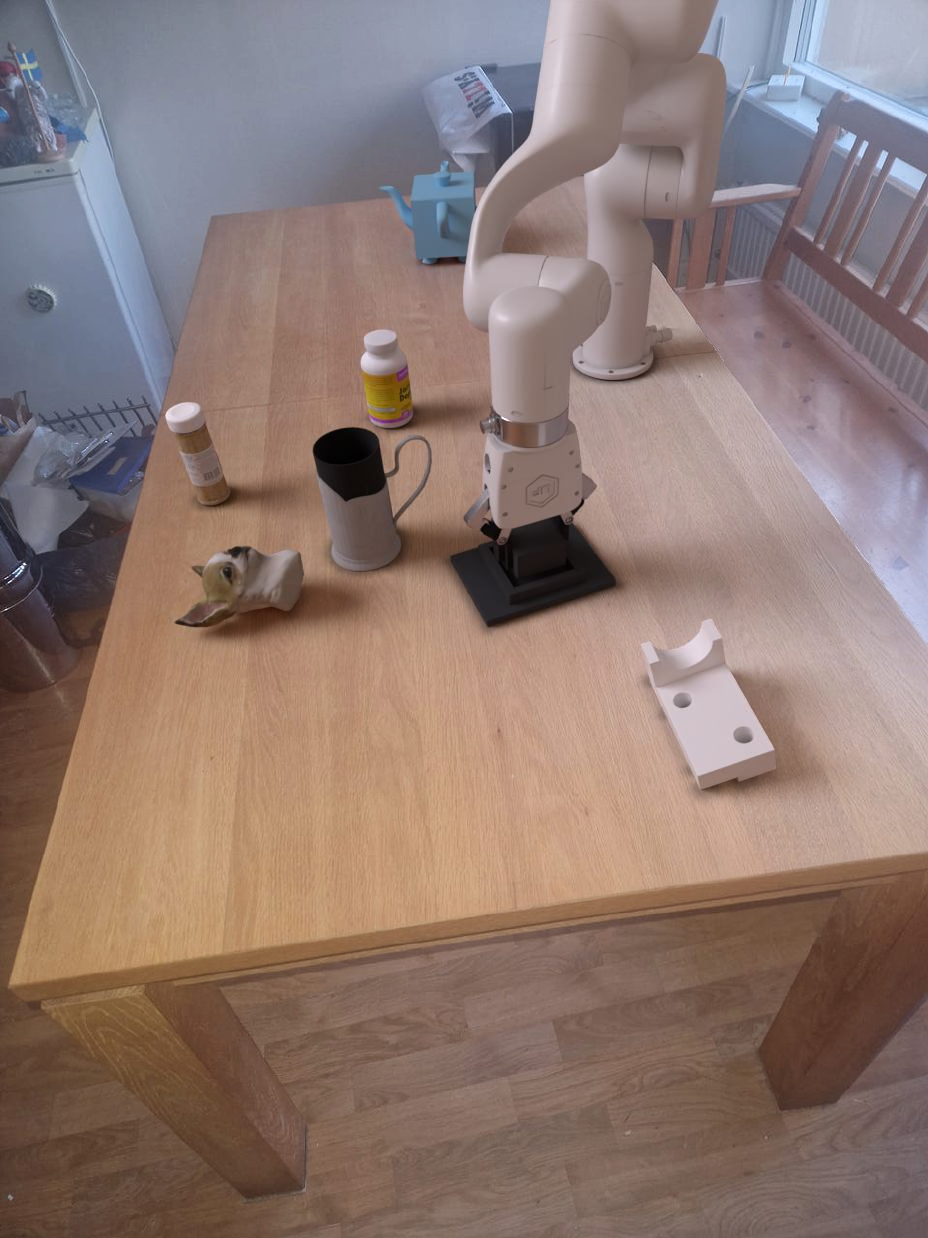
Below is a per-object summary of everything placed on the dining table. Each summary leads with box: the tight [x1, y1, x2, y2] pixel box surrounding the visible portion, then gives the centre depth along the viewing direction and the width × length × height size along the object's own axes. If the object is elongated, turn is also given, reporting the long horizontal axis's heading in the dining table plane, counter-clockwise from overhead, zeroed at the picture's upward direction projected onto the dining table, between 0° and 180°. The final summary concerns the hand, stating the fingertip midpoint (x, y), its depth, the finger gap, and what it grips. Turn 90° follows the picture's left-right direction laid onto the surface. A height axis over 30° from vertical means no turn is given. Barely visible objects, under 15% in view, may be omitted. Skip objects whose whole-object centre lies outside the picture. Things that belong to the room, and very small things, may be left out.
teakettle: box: [378, 160, 478, 265], centre depth 157 cm, size 19×19×15 cm
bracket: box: [640, 618, 777, 791], centre depth 75 cm, size 13×7×8 cm, turn 11°
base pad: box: [449, 522, 617, 628], centre depth 94 cm, size 16×12×2 cm
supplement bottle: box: [360, 328, 414, 429], centre depth 115 cm, size 7×7×13 cm
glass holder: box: [312, 426, 433, 572], centre depth 95 cm, size 9×14×15 cm, turn 113°
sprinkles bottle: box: [164, 401, 231, 506], centre depth 104 cm, size 5×5×13 cm
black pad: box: [509, 518, 567, 579], centre depth 91 cm, size 6×6×4 cm
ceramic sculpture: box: [173, 545, 305, 628], centre depth 91 cm, size 11×9×15 cm
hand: (531, 552), depth 92 cm, fingers closed on black pad, 6 cm apart
